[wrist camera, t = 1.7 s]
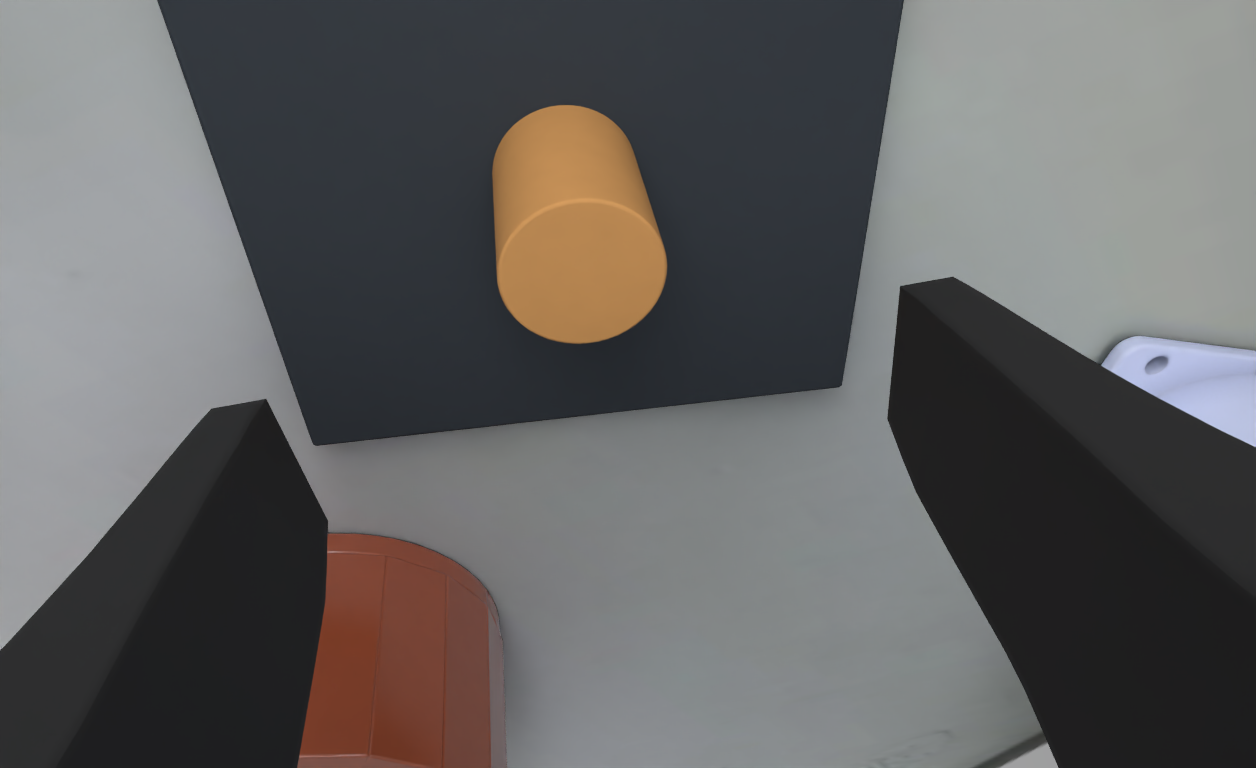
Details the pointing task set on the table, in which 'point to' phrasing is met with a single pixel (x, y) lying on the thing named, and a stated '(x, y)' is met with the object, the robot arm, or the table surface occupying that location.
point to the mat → (427, 232)
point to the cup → (404, 662)
